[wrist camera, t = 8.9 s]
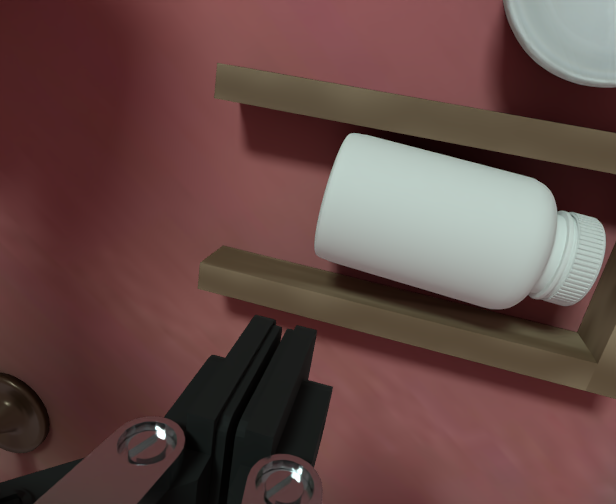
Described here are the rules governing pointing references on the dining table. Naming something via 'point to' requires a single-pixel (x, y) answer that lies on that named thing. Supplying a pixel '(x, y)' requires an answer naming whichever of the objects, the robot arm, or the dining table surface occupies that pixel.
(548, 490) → the dining table surface
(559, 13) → the ramekin
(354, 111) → the u rest
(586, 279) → the pill bottle
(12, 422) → the candlestick
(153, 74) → the dining table surface
